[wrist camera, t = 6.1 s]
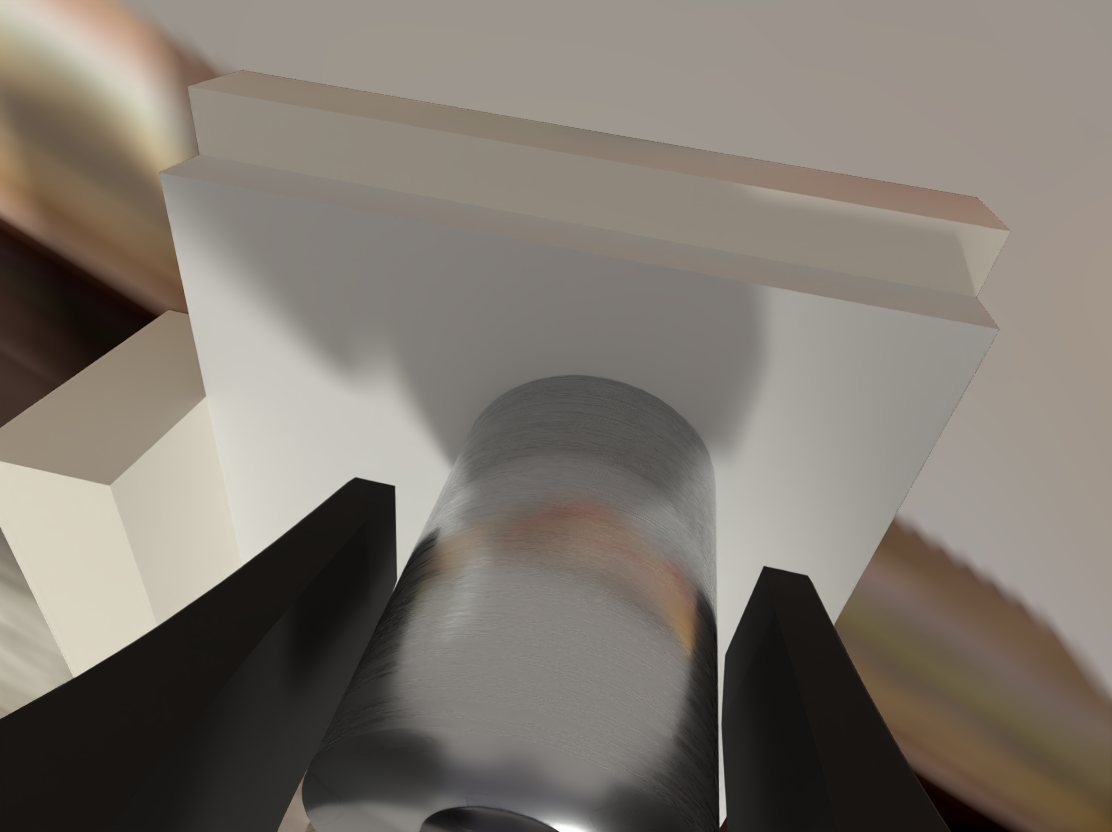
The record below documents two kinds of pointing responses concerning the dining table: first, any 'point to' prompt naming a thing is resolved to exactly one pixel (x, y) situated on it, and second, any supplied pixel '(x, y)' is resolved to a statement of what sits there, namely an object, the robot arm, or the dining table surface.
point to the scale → (490, 343)
